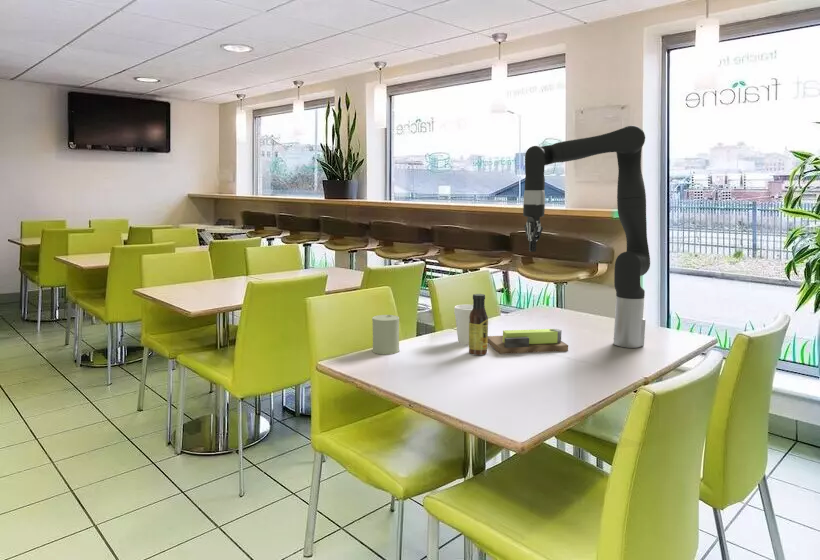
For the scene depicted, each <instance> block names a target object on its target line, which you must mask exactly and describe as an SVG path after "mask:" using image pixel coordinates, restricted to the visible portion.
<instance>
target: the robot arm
mask: <svg viewBox="0 0 820 560" xmlns="http://www.w3.org/2000/svg"><path fill="white" fill-rule="evenodd" d="M645 141H646V134H645V132H644V130H643V129H642V128H641V127H639V126H637V125H627V126H625V127H622V128H619V129H617V130H613V131H611V132H606V133H604V134H603V133H602V134H599V135H593V136H589V137H582V138H576V139H570V140H564V141H558V142H555V143H554V144H549V145H548V144H547V145H542V146H538V145H531V146H530V147H529V148H527V150H526V151H525V154H524V171H525V178H524V193H523V207H522V210H523V211H522V216H523V217H526V224H524V225H523V226H524V231H525V235H526V236H525V237H526V239H527V240H528V251H529V252H530V253H531V252H537V242H538V241H540V238H541V236H542V233H543V229H544V228H543V227H544V226H541V219H540V218H543V217H544V216H545V208H546V206H545V205H546V194H545V190H546V188H545V183H546V182H545V181H546V179H545V166H548V165H552V164H555V163H567V162H571V161H578V160H582V159H585V158H589V157H593V156H596V155H601V154H607V153H615V154H616V158H617V168H618V170H617V171H618V175H617V189H616V190H617V191H616V192H617V193H616V194H617V195H616V201H617V202H616V203H617V205H616V206H617V214H618V218H619V221H620V224H621V226H622V228H623V231H624V234H625V238H626V240H625V241H626V251H623V252H621V253H619V254H618V255H617V257H616V259H615V262H614V271H613V272H614V275H613V277H614V279H613V280H614V282H613V283H614V289H615V293H616V294H615V307H614V308H615V310H614V314H615V315H614V327H613V328H614V329H613V345H615V346H618V347H622V348H629V349H632V348H633V349H635V348H641V347H644V346H645V336H646V335H645V334H646V319H645V318H644V309H645V296H646V295H645V294H646V293H645V289H644V288H643V287H642V286H641V277H643V276H644V275H646V274H647V273H648V271H649V270H650V267H651V257H650V250H649V249H650V248H649V243H648V233H647V225H648V224H647V223H648V222H647V195H646V194H647V193H646V187H645V186H646V185H645V182H644V177H643V174H642V149H643V146H644V144H645Z"/></svg>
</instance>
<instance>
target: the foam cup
mask: <svg viewBox="0 0 820 560" xmlns="http://www.w3.org/2000/svg"><path fill="white" fill-rule="evenodd" d="M472 309H473V304H457V305H455V306H454V311H453V314H454V317H455V324H456V326H455V327H456V334H457V342H458V344H460V345H462V346H463V345H465V346H469V322H470V318H469V316H470V313H471V311H472Z"/></svg>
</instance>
